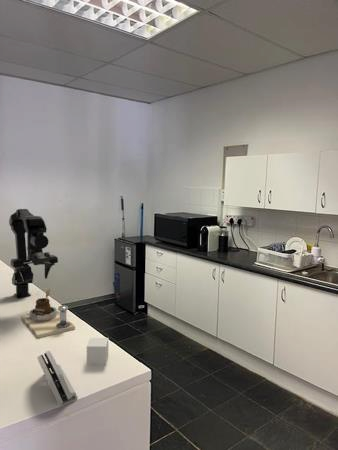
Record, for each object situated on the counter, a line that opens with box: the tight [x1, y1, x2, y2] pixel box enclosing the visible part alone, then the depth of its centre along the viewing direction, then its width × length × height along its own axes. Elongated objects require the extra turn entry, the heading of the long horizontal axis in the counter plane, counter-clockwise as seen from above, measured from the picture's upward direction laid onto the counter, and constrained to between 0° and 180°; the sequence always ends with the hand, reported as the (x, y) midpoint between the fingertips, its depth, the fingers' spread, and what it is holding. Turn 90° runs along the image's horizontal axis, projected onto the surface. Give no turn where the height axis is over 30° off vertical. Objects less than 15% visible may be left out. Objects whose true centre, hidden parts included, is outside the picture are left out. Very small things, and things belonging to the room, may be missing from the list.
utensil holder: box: [34, 288, 52, 315], centre depth 138 cm, size 6×6×12 cm
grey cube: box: [86, 337, 109, 365], centre depth 107 cm, size 6×6×6 cm
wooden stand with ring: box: [21, 304, 76, 339], centre depth 134 cm, size 22×14×9 cm, turn 38°
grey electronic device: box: [36, 350, 79, 405], centre depth 92 cm, size 17×5×10 cm, turn 32°
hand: (35, 280), depth 148 cm, fingers open, 9 cm apart
